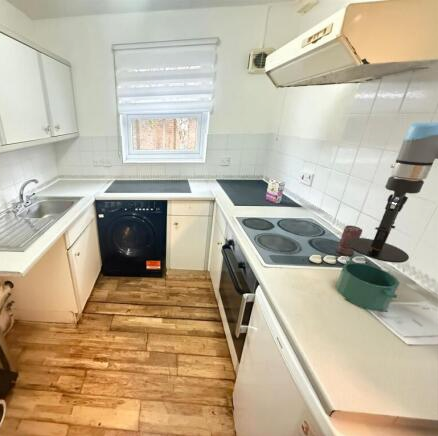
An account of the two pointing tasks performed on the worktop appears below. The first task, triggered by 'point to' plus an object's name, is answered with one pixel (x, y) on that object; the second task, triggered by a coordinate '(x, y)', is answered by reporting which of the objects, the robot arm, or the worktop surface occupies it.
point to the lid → (386, 254)
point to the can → (347, 234)
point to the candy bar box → (275, 191)
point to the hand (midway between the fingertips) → (377, 246)
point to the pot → (366, 285)
